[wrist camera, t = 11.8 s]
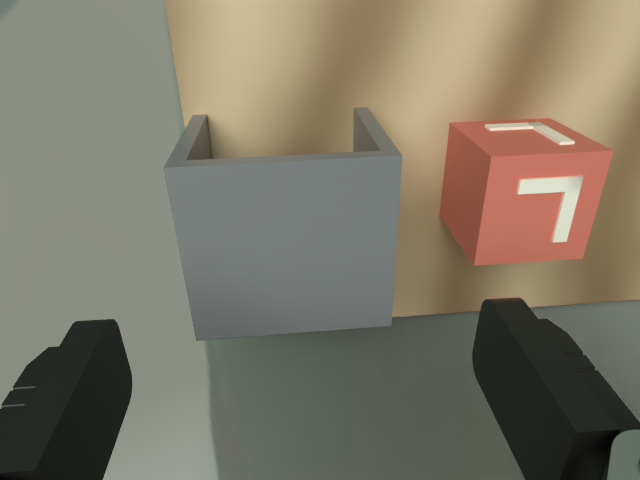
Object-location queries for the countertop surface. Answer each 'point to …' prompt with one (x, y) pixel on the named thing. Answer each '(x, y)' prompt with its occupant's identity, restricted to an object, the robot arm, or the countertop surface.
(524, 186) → the letter cube
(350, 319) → the cover
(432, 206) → the board
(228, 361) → the countertop surface
